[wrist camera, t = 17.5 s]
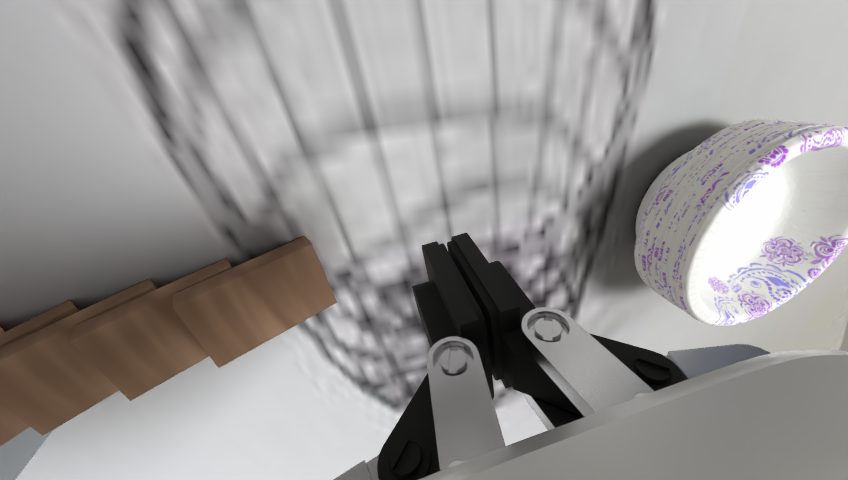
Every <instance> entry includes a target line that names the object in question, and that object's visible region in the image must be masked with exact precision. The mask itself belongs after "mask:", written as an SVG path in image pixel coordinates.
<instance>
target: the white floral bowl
mask: <svg viewBox="0 0 848 480" xmlns="http://www.w3.org/2000/svg"><path fill="white" fill-rule="evenodd" d="M636 236H637V237H636V243H635V252H634V256H635V265H636V269H637V271H638V274H639V275H640V277H641V279H642V280H643V281H644V282H645V283H646V284H647V285H648V286H649V287H650V288H652V289H653V290H654V291H655V292H656V293H658V294H659V295H661V296H662V297H664V298H665V299H666V300H668V301H669V302H671V303H672V304H674V305H676V306H677V307H679V308H680V309H682V310H684V311H685V312H686V313H688V314H689V315H691V316H692V317H693V318H695V319H696V320H699V321H701V322H704V323H706V324H711V325H716V326H729V325H735V324H740V323H744V322H747V321H750V320H753V319H755V318H758V317H760V316H762V315H764V314H766V313H768V312H770V311H772V310H773V309H775V308H777V307H778V306H780V305H782V304H783V303H785V302H786V301H788V300H789V299H791V298H792V297H794V296H795V295H796V294H798V293H799V292H800V291H801V290H803V289H804V288H805V287H806V286H808V285H809V284H810V283H811V282H812V281H813V280H814V279H815V278H816V277H818V276H819V275H820V274H821V273H822V272H823V271H824V270H825V269H826V268H827V267H828V265H829V264H831V263H832V261H833V260H834V259H835V258H836V257H837V256H838V254H839V253H840V252H841V251H842V250H843V248H844V247H845V246H846V244H847V243H848V127H841V126H833V125H827V124H814V123H803V122H796V121H789V120H775V119H756V120H754V119H751V120H747V121H743V122H740V123H736V124H734V125H731V126H728V127H727V128H725V129H722V130H720V131H719V132H717V133H716V134H714V135H712V136H711V137H709V138H708V139H707V140H705V141H703V142H702V143H701V144H700V145H698V146H697V147H695V148H694V149H693V150H691V151H689V152H687V153H685V154H684V155H682V156H680V157H679V158H677V159H676V160H675V161H673V162H672V163H671V164H670V165H669V166H667V167H666V168H665V169H664V170H663V171H662V172H661V173H660V174H659V175H658V177H657V178H656V179H655V180H654V182H653V183H652V184H651V186H650V187H649V189H648V190H647V192H646V194H645V196H644V198H643V200H642V202H641V205H640V207H639V210H638V214H637V218H636Z"/></svg>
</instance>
